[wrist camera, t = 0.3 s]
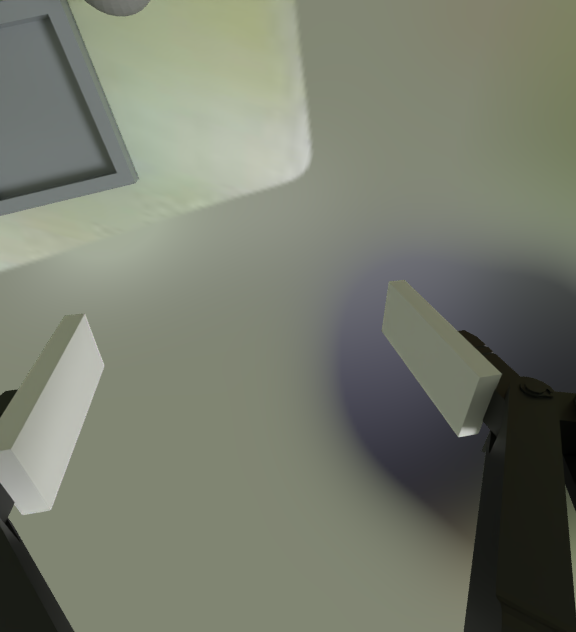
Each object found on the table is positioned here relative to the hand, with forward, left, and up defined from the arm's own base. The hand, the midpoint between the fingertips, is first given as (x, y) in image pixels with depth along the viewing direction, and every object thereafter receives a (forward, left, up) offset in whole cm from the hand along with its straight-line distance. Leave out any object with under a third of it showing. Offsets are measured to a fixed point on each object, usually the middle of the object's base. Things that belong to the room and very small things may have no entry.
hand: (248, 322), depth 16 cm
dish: (-10, -15, -26) cm, 32 cm away
